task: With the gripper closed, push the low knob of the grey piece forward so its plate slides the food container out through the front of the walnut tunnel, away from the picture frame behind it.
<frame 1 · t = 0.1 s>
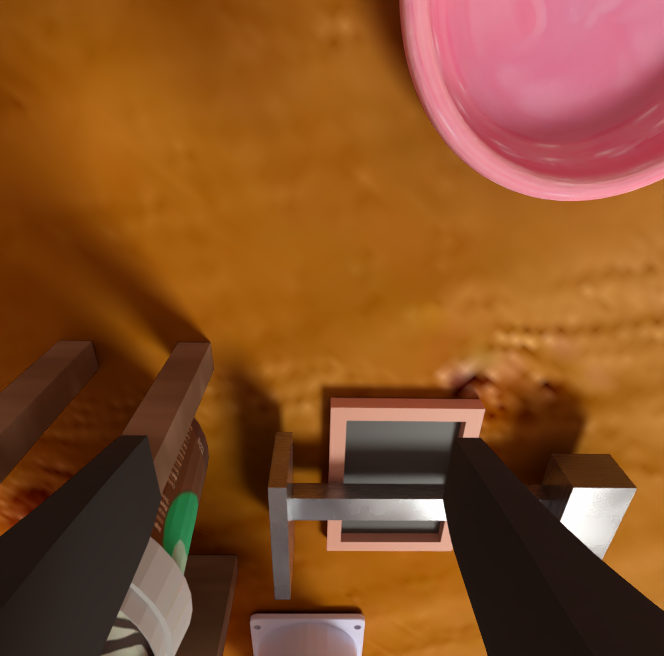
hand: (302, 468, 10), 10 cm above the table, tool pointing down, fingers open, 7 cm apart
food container: (165, 471, 24), on the table
picture frame: (395, 475, 24), on the table
tunnel: (163, 474, 24), on the table
grey piece: (442, 517, 22), point 3 cm above the table, slide at 0.0 cm
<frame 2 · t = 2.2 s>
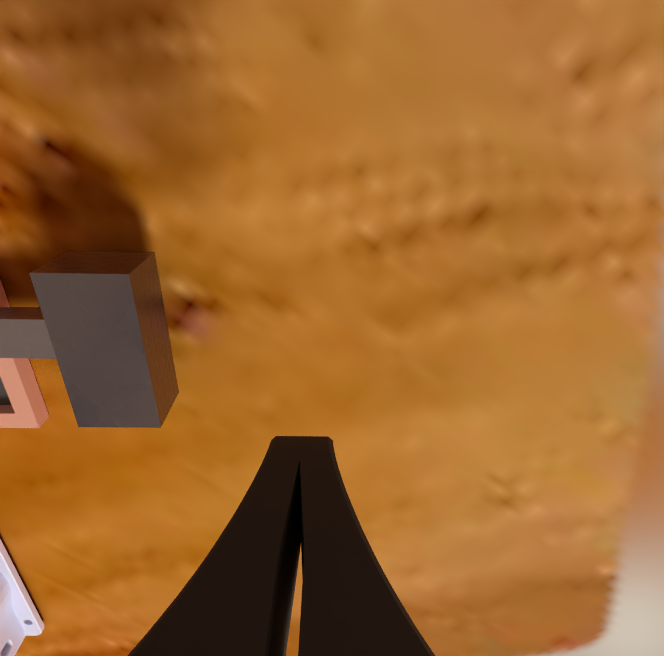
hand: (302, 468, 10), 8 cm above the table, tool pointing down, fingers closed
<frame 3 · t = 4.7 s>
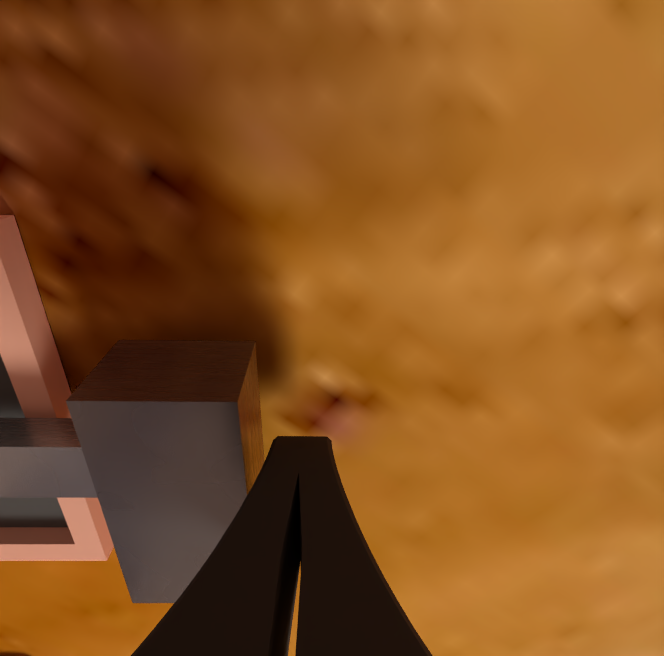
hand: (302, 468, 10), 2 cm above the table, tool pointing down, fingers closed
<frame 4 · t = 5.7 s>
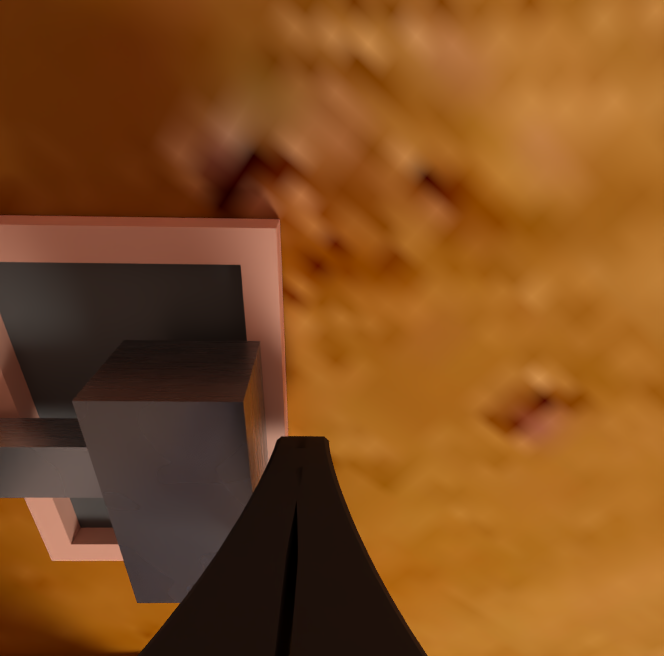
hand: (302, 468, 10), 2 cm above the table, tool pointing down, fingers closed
picture frame: (151, 410, 12), on the table
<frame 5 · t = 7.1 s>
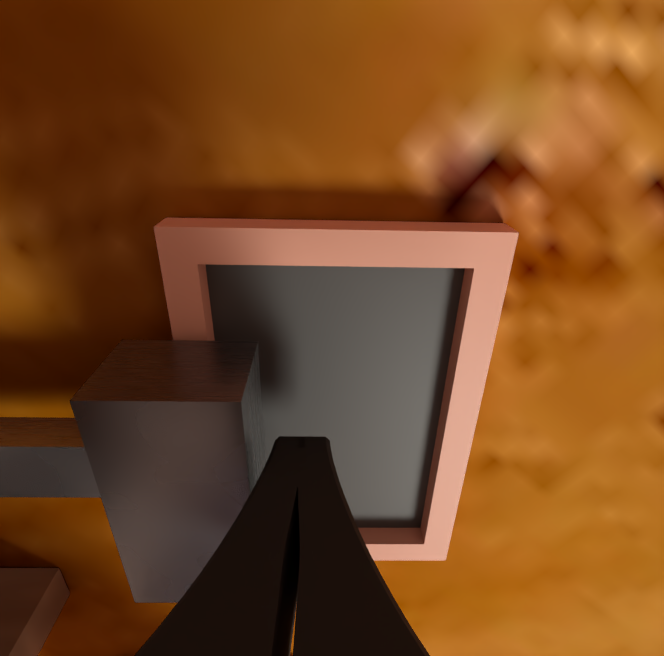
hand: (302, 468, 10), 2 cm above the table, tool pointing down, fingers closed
picture frame: (332, 411, 12), on the table
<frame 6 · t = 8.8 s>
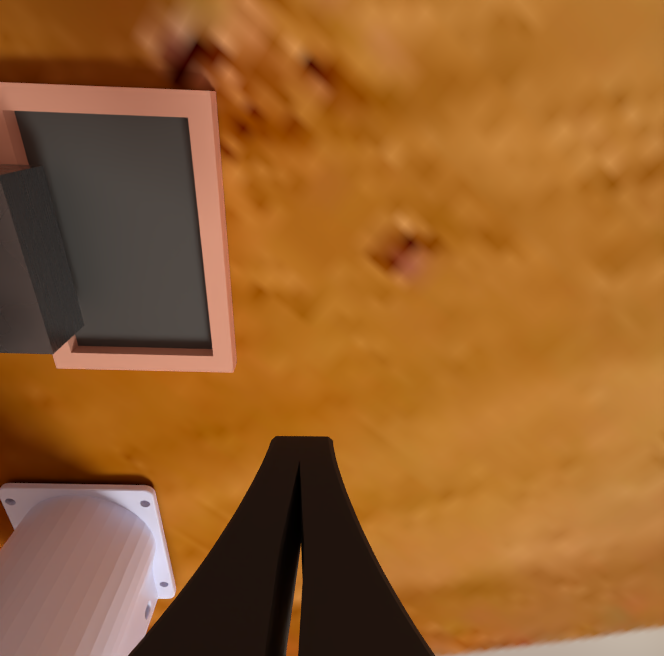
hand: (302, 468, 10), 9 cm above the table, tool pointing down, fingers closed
picture frame: (130, 243, 17), on the table
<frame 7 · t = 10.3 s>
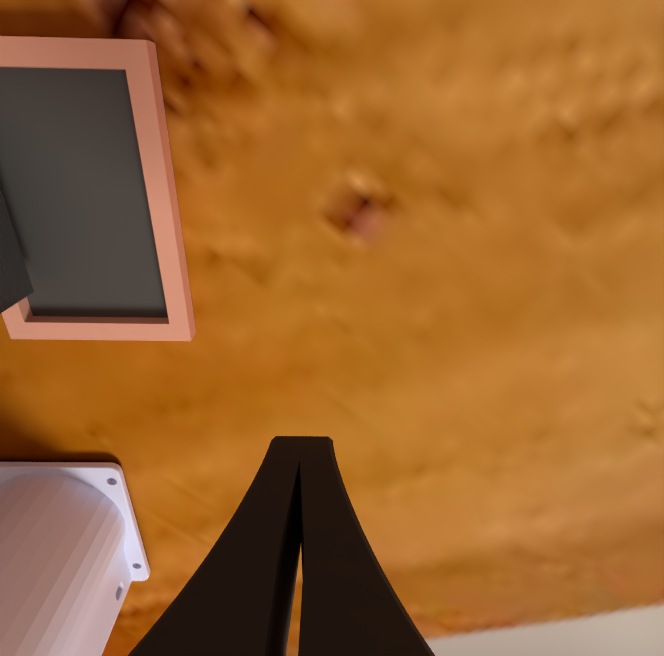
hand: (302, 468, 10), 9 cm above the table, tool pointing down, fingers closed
picture frame: (79, 207, 17), on the table
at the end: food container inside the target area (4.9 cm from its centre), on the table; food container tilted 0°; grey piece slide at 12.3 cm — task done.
